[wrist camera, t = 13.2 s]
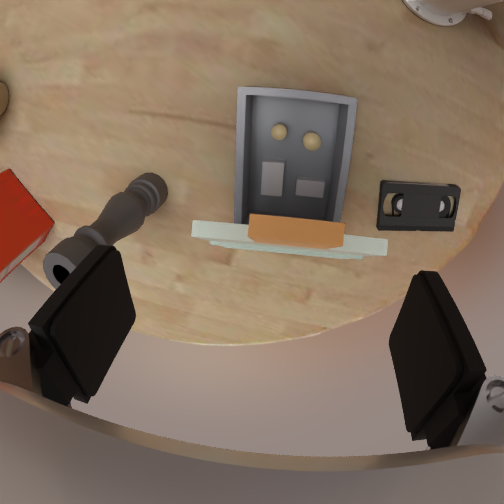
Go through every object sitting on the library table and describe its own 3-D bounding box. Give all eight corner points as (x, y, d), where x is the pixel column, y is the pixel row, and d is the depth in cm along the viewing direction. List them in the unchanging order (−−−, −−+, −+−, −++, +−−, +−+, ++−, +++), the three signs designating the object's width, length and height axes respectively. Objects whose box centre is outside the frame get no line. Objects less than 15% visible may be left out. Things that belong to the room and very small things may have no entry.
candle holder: (153, 165, 47) (56, 240, 26) (174, 195, 49) (95, 287, 28) (128, 185, 49) (33, 264, 28) (149, 213, 52) (68, 306, 30)
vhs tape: (456, 183, 42) (461, 187, 41) (448, 226, 46) (453, 231, 44) (379, 179, 44) (382, 183, 43) (375, 224, 48) (378, 230, 47)
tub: (346, 95, 38) (357, 98, 31) (329, 221, 48) (335, 246, 42) (247, 86, 39) (237, 86, 32) (242, 213, 50) (233, 236, 43)
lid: (423, 233, 15) (421, 260, 15) (336, 248, 42) (335, 259, 42) (164, 207, 17) (161, 234, 16) (232, 237, 43) (230, 248, 43)
